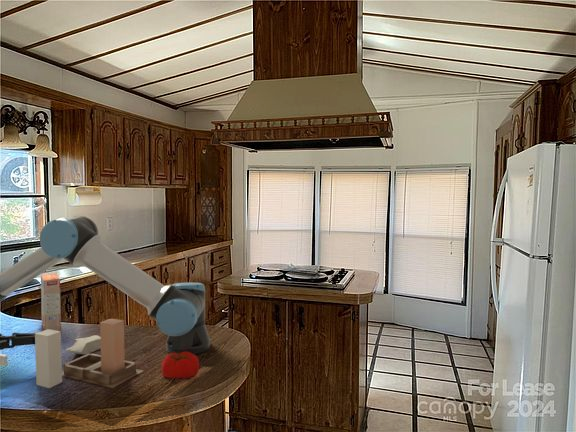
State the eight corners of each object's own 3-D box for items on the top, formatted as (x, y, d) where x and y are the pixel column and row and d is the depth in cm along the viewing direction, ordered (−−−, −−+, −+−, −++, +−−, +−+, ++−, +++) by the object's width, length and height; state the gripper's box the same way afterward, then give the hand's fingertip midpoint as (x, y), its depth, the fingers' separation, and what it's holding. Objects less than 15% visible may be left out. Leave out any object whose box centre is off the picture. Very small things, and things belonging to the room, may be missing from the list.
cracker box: (62, 331, 164) (60, 278, 163) (44, 334, 160) (42, 280, 159) (58, 321, 175) (56, 272, 174) (41, 324, 172) (39, 274, 171)
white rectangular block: (49, 383, 120) (48, 329, 119) (62, 387, 118) (60, 331, 117) (36, 390, 116) (34, 333, 115) (49, 393, 114) (47, 336, 113)
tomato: (160, 372, 128) (160, 351, 127) (196, 367, 132) (196, 346, 131) (162, 386, 119) (162, 364, 118) (201, 380, 123) (201, 358, 122)
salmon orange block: (111, 371, 125) (110, 318, 124) (124, 373, 123) (124, 320, 122) (101, 376, 121) (100, 322, 120) (114, 379, 119) (113, 324, 118)
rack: (55, 378, 123) (55, 365, 123) (89, 363, 134) (89, 351, 134) (112, 393, 114) (112, 379, 114) (143, 375, 125) (143, 362, 125)
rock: (47, 358, 139) (78, 362, 132) (46, 344, 139) (77, 347, 133) (100, 342, 158) (130, 344, 152) (100, 329, 158) (129, 331, 152)
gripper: (22, 339, 139) (68, 349, 130) (-65, 369, 116) (-16, 383, 107) (21, 317, 138) (68, 326, 130) (-67, 342, 115) (-17, 354, 107)
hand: (30, 352), depth 119 cm, fingers open, 13 cm apart
